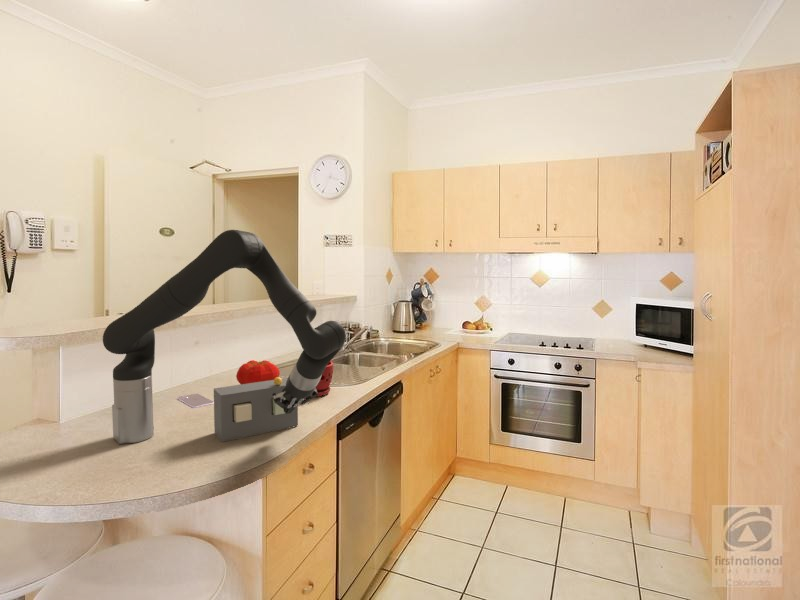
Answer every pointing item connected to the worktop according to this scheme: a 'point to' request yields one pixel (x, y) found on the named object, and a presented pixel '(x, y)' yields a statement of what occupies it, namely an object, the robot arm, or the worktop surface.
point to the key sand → (242, 412)
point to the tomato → (257, 372)
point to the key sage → (277, 408)
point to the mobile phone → (195, 400)
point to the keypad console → (261, 410)
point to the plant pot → (325, 380)
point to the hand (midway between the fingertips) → (287, 410)
